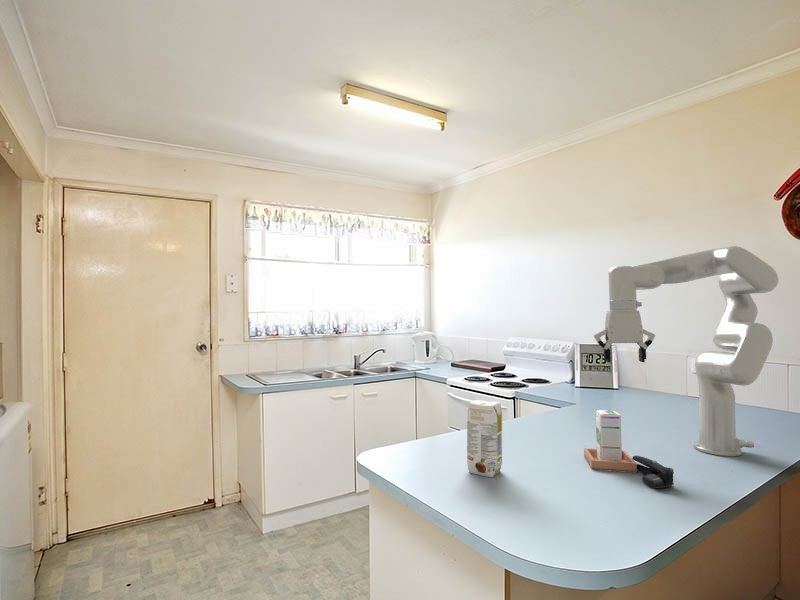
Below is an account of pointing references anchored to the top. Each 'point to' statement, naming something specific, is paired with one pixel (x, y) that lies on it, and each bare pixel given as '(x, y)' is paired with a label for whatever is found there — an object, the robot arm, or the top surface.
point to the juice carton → (484, 438)
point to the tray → (610, 462)
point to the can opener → (654, 473)
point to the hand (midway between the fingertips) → (624, 361)
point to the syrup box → (608, 435)
